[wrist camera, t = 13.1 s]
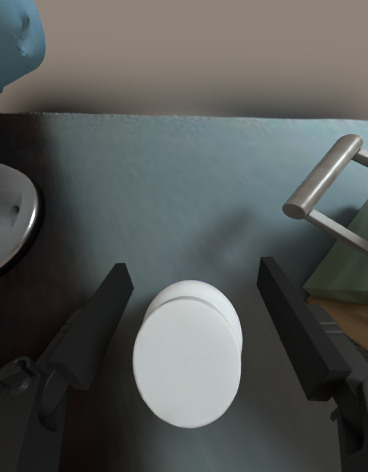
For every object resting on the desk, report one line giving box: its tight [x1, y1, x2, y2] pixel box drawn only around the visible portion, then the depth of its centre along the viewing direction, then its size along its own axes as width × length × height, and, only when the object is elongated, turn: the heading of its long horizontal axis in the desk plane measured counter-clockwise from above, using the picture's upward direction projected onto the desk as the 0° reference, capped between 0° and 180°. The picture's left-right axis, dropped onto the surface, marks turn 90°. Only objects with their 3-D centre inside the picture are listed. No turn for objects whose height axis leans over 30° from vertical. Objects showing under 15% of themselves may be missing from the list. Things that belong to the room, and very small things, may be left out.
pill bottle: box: [133, 280, 242, 428], centre depth 10 cm, size 6×5×10 cm
